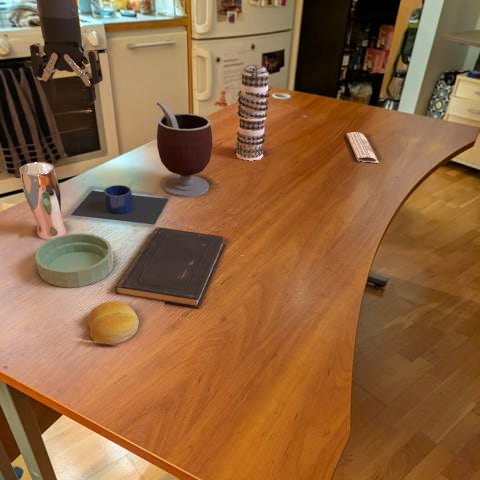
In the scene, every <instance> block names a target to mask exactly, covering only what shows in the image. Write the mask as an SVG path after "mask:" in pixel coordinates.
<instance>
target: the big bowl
mask: <svg viewBox="0 0 480 480" xmlns="http://www.w3.org/2000/svg"><path fill="white" fill-rule="evenodd" d="M112 247H113V246H112V244H110V242H109V241H108V240H107V239H105V238H104V237H102V236H99V235H96V234H93V233H87V232H86V233H85V232H79V233H77V232H76V233H66V234H65V235H62V236H58V237H55V238H53V239H50V240H49V239H47V241H45V242H43V243H42V244H40V246H39V247H37V249H36V251H35V254H34V260H35V263H36V267H37V271H38V274H39V276H40V278H41V279H42V281H44V282H45V283H47V284H49V285H52V286H55V287H60V288H68V289H69V288H81V287H84V286H89V285H93V284H96V283H97V282H100V281H102V280H104V278H106V277H107V276H108V275H110V274H111V272H112V271H113V269H114V255H113V248H112Z"/></svg>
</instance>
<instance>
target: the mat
mask: <svg viewBox="0 0 480 480" xmlns="http://www.w3.org/2000/svg"><path fill="white" fill-rule="evenodd" d="M132 201H133V209H132V211H130V212H128V213H125V214H112V213H110V212H108V211H107V208H106V202H105V196H104V191H100V190H91V191H90V192H89V194H88V195H86V197H85V198H84V199H83V200H82V201H81V202H80V203H79V204H78V205H77V207H75V209H74V210H73V211H72V213H71V214H70V216H74V217H83V218H91V219H101V220H108V221H109V220H110V221H117V222H125V223H126V222H127V223H135V224H144V225H155V224H156V223H157V221H158V219H159V217H160V215H161V213H162V212H163V210H164V208H165V206H166V205H167V203H168V201H169V198H164V197H157V196H156V197H155V196H149V195H148V196H146V195H137V194H132Z"/></svg>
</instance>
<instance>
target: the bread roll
mask: <svg viewBox="0 0 480 480" xmlns="http://www.w3.org/2000/svg"><path fill="white" fill-rule="evenodd" d="M139 322H140V321H139V317H138V316H137V314H136V312H135V310H134V309H133V307H131V306H130V305H128V304H127V303H125V302H121V301H118V300H111V301H105V302H103V303H100V304H98V305H97V306H95V307H93V309H92V310H91V311H90V312H89V314H88V316H87V325H88V327H89V336H90V338H91V339H92V341H94V342H97V343H102V344H107V345H118V344H121V343H123V342H126V341H127V340H129V339H131V338H132V337H133V336H134V335H135V334H136V333H137V331H138V328H139V324H140V323H139Z"/></svg>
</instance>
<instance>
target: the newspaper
mask: <svg viewBox="0 0 480 480" xmlns="http://www.w3.org/2000/svg"><path fill="white" fill-rule="evenodd" d="M346 137H347V140H348V142H349V144H350V147H351V149H352V152H353V154H354V156H355V158H356V161H357V162H360V161H362V162H360V163H365V162H371V163H370V164H372V163H376V164H377V163H378V164H380V161H379V160H378V158H377V155H376V153H375V152H374V150H373V148H372V147H371V144H370V143H369V140H368V139H367V137H365V134H363V133H362V132H357V131H351V132H346Z"/></svg>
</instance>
